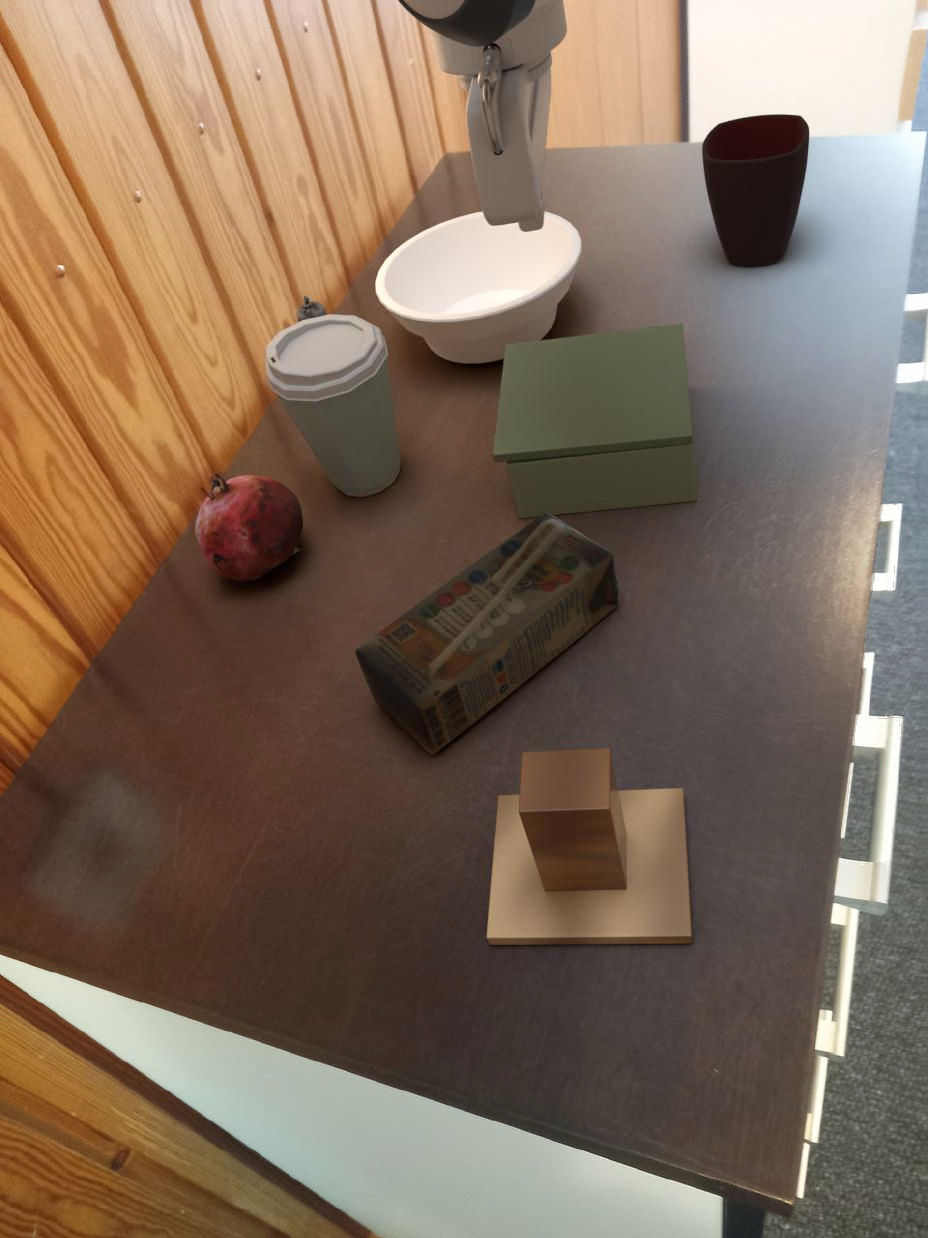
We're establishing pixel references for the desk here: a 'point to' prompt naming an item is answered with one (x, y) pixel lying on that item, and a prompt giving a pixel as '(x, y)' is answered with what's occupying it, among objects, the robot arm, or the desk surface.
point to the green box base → (603, 480)
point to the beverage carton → (488, 630)
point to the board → (597, 916)
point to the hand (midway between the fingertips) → (533, 221)
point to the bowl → (480, 284)
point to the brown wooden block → (574, 819)
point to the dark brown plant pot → (756, 184)
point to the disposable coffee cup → (339, 398)
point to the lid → (594, 394)
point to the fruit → (248, 526)
